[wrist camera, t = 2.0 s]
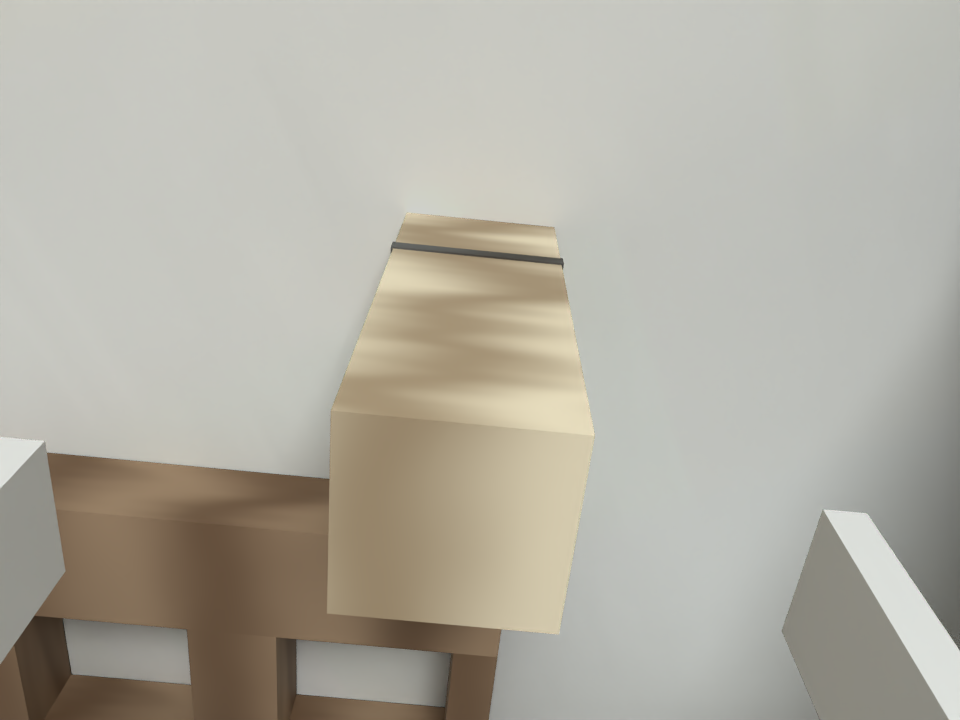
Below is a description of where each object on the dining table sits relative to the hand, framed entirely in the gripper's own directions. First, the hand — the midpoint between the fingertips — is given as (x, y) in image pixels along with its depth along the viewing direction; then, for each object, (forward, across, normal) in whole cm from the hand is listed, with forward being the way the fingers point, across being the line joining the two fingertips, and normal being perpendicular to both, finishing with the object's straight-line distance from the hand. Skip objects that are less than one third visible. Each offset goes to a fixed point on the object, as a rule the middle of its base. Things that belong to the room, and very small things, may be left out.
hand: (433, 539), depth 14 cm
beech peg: (+12, 0, 0) cm, 12 cm away
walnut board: (+12, +7, +15) cm, 21 cm away
